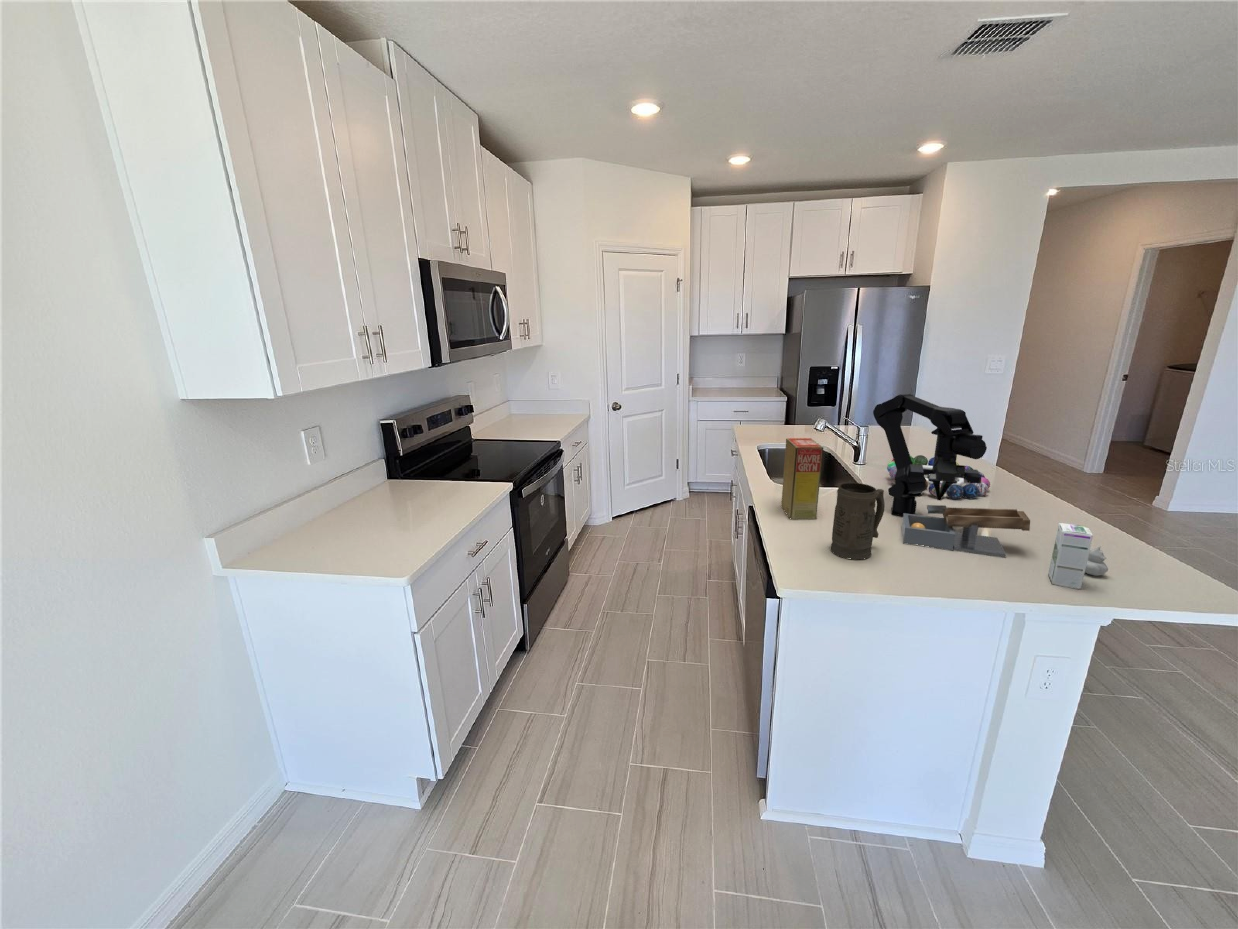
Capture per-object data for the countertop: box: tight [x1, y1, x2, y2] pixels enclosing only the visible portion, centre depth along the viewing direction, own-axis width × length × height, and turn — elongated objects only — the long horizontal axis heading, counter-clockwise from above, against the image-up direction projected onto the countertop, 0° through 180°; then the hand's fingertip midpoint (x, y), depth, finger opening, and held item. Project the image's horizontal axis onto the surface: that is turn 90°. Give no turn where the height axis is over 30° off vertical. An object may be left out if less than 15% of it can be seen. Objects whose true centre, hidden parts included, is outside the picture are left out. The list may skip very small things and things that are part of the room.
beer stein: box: [830, 482, 885, 560], centre depth 143 cm, size 15×11×20 cm
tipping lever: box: [926, 504, 1031, 532], centre depth 148 cm, size 23×16×4 cm
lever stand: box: [953, 524, 1007, 559], centre depth 145 cm, size 12×12×8 cm
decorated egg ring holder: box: [886, 454, 991, 500], centre depth 196 cm, size 35×35×9 cm
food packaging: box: [780, 437, 824, 520], centre depth 171 cm, size 13×9×25 cm
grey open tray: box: [900, 513, 956, 551], centre depth 151 cm, size 12×12×5 cm
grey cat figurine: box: [1085, 545, 1109, 577], centre depth 128 cm, size 5×7×8 cm
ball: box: [911, 523, 925, 529], centre depth 152 cm, size 4×4×4 cm
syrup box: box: [1047, 522, 1094, 590], centre depth 124 cm, size 6×6×14 cm
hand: (938, 500), depth 156 cm, fingers closed
